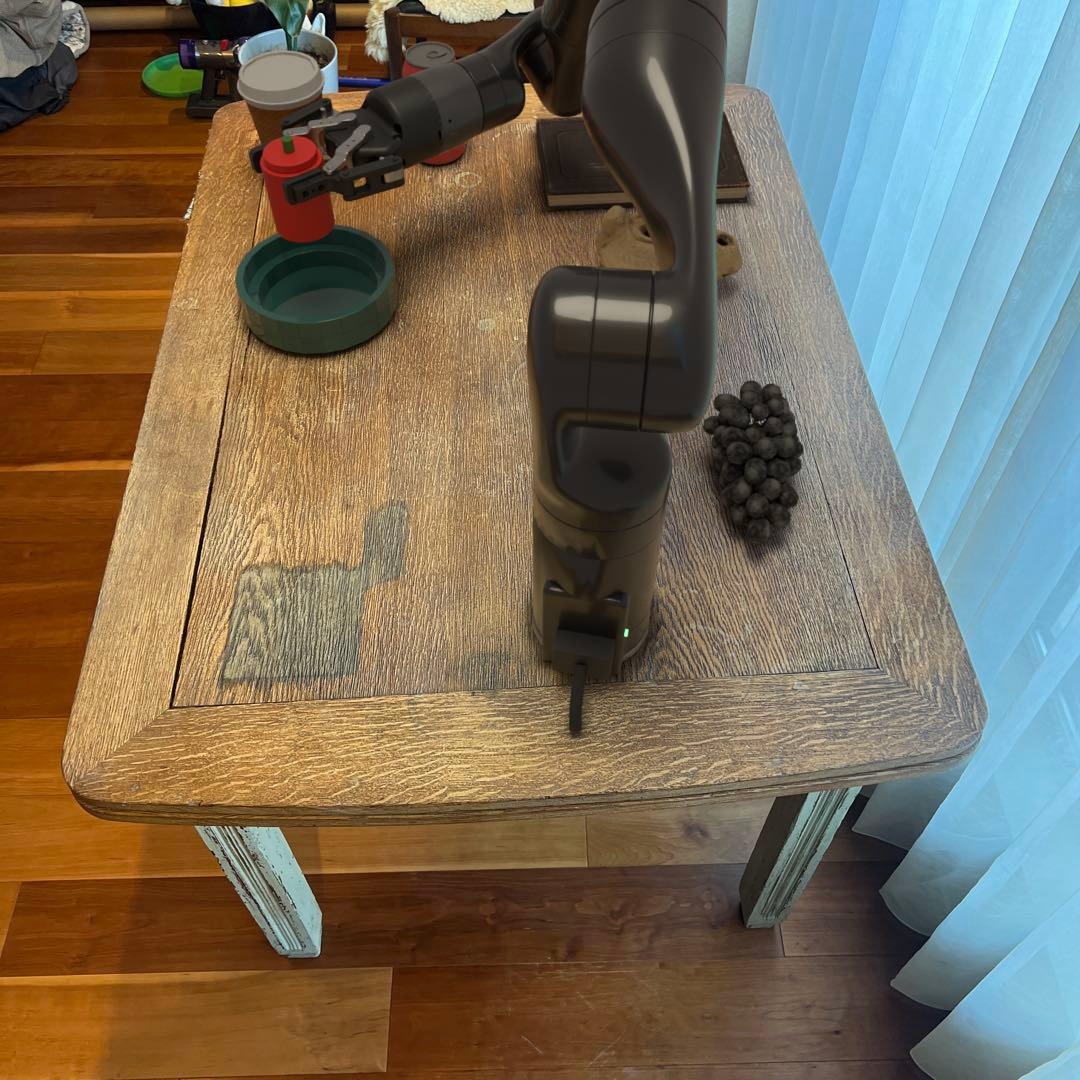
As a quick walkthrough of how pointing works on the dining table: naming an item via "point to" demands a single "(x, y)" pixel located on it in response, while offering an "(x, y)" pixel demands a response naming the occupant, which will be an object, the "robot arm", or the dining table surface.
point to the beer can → (422, 59)
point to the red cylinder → (278, 166)
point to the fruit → (756, 457)
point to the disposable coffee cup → (279, 89)
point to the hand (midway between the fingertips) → (269, 178)
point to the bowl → (317, 290)
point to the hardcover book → (586, 179)
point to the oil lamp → (651, 245)
